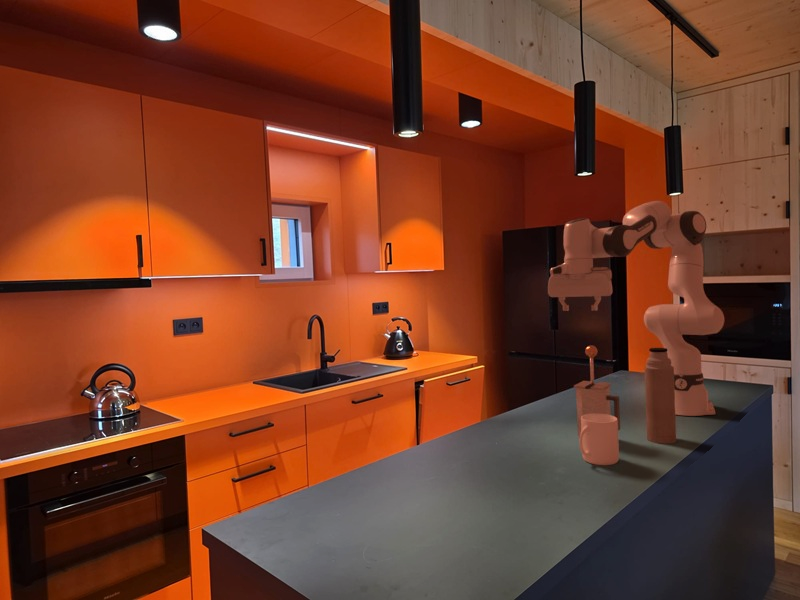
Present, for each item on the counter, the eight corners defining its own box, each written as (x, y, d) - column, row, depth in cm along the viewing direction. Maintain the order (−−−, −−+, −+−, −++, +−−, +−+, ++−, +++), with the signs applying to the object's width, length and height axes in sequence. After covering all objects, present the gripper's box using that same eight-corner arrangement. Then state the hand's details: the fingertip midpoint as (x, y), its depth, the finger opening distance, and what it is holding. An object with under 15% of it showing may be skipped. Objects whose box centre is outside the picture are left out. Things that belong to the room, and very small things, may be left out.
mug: (625, 459, 142) (623, 417, 141) (604, 471, 133) (603, 426, 133) (592, 451, 149) (591, 411, 148) (571, 463, 140) (569, 420, 140)
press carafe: (584, 433, 166) (582, 380, 166) (623, 439, 159) (622, 383, 158) (575, 440, 159) (572, 385, 159) (615, 447, 152) (613, 389, 151)
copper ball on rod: (585, 398, 164) (583, 343, 164) (607, 400, 160) (605, 344, 159) (578, 403, 159) (576, 346, 158) (600, 405, 155) (598, 347, 154)
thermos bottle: (671, 435, 160) (668, 346, 159) (679, 443, 152) (677, 349, 151) (643, 435, 161) (640, 346, 160) (650, 443, 153) (647, 350, 152)
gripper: (614, 266, 163) (616, 309, 164) (552, 269, 176) (554, 310, 177) (608, 266, 159) (609, 311, 159) (545, 269, 172) (546, 311, 172)
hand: (579, 310), depth 168 cm, fingers open, 8 cm apart
